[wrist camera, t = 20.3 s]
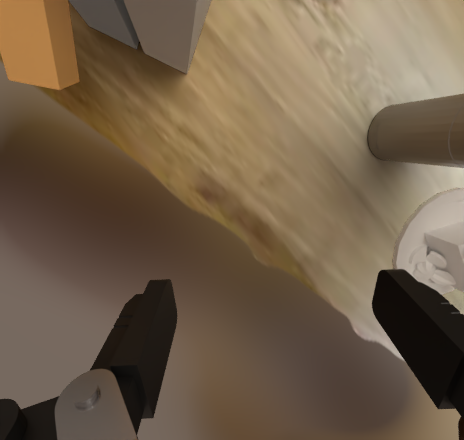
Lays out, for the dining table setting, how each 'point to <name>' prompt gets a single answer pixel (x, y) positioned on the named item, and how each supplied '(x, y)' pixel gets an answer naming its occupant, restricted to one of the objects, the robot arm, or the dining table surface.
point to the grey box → (108, 19)
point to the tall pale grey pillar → (169, 28)
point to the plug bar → (38, 43)
